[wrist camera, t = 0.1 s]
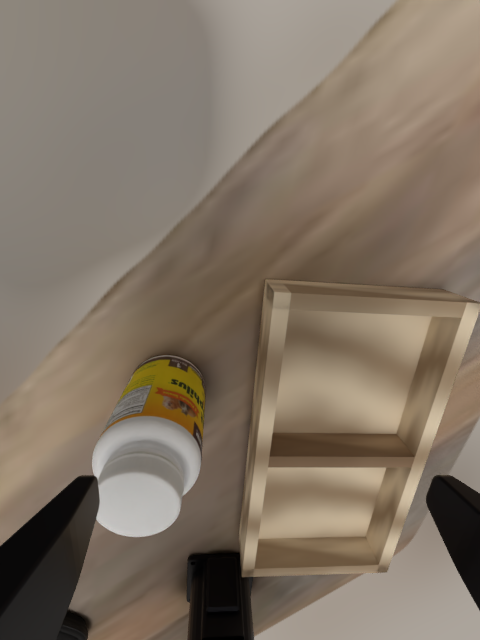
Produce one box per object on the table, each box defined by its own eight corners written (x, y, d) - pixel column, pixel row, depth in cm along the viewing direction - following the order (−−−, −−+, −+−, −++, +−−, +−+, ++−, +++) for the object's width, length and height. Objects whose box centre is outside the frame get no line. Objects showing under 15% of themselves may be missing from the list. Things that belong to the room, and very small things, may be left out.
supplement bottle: (218, 397, 24) (220, 524, 14) (155, 425, 24) (116, 566, 15) (184, 339, 22) (159, 439, 12) (116, 370, 22) (42, 490, 13)
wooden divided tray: (368, 533, 30) (386, 572, 27) (238, 535, 29) (241, 577, 26) (442, 289, 22) (482, 303, 19) (265, 279, 21) (274, 292, 18)
